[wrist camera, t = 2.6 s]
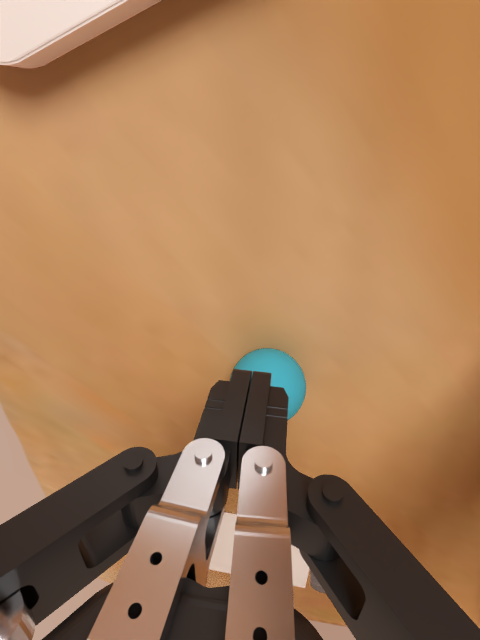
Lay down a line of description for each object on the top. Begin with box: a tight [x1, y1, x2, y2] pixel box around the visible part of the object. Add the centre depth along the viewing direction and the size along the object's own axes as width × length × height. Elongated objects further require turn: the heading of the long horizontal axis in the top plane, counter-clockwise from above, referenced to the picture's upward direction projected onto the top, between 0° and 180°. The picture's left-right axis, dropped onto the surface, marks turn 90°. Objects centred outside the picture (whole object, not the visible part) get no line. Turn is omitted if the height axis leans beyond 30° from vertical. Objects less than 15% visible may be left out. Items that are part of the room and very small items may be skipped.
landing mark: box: [209, 512, 310, 588], centre depth 46 cm, size 14×14×1 cm
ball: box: [230, 348, 306, 420], centre depth 29 cm, size 6×6×6 cm
